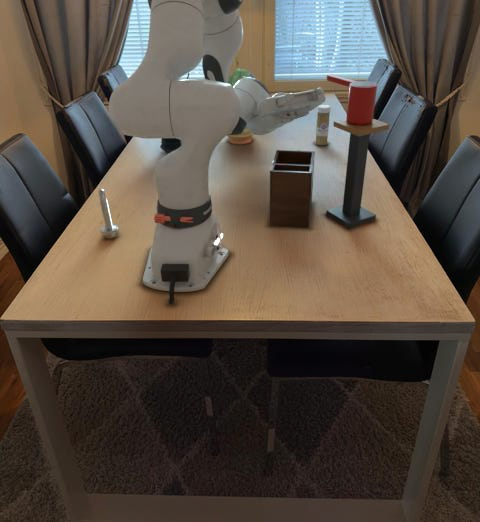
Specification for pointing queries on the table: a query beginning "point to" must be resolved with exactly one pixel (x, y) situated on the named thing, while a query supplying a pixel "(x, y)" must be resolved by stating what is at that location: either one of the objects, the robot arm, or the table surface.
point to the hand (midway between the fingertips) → (306, 93)
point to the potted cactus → (246, 134)
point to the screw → (107, 218)
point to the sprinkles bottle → (322, 124)
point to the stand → (355, 174)
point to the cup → (358, 99)
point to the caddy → (291, 188)
